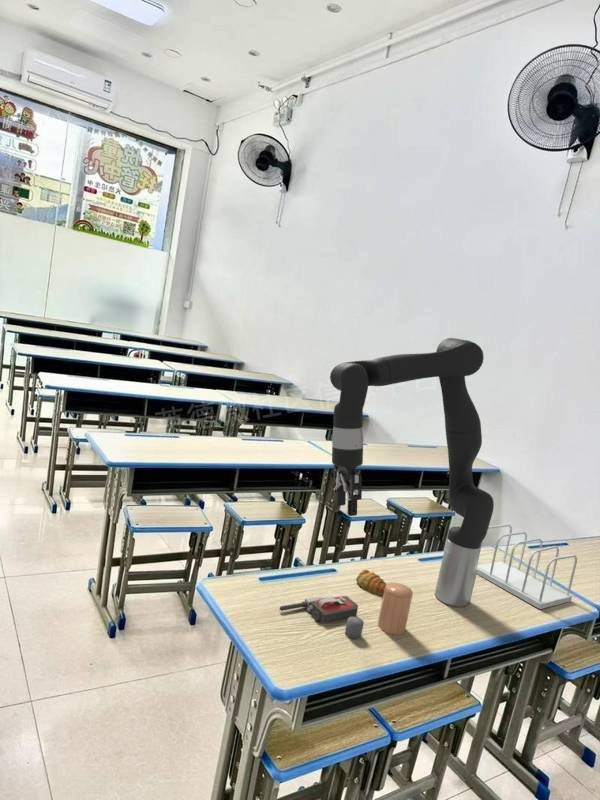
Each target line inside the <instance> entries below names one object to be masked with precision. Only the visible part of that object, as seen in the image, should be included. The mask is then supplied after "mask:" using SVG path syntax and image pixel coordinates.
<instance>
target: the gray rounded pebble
mask: <svg viewBox="0 0 600 800" xmlns="http://www.w3.org/2000/svg"><path fill="white" fill-rule="evenodd" d="M346 621H347V622H346V626H345V631H344V634H345V636H346V637H347V638H349V639H351V640H359V639H362V633H363V629H364V624H365V623H364V621H363V619H361V618H360V617H357V616H356V617H349V618H348V619H346Z"/></svg>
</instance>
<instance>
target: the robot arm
mask: <svg viewBox="0 0 600 800" xmlns="http://www.w3.org/2000/svg"><path fill="white" fill-rule="evenodd" d="M484 359H485V358H484V351H483V350H482V347H481V346H480V345H478V344H477V343H476V342H473V341H470V340H466V339H460V338H453V337H448V338H444V339H443V340H442V341H440V342H439V344H438V345H437V348H436V352H435V351H434V352H426V353H404V354H403V353H402V354H401V353H400V354H393V355H387V356H382V357H376V358H373V359H367V360H364V359H363V360H354V361H353V360H352V361H346V362H341V363H338V364H337V365H335V366H334V367H333V368H332V370H331V372H330V376H329V380H330V382H331V385H332V386H333V388H335V389H336V390H337V391H340V393H339V394H340V396H339V402H337V403H336V404H335V405H334V408H333V427H332V428H333V430H332V435H331V436H332V437H331V439H332V441H331V464H332V465H333V482H332V484H333V487H334V488H335V490H336V505H337V506H339V507H340V506H345V505H346V500H347V508H346V509H347V515H348V516H350V517H353V516H354V517H356V516H357V515H358V501H359V500H362V498H363V497H362V495H363V494H362V492H363V491H362V488H363V487H362V484H363V483H362V481H363V480H362V474H361V473H360V474H358V473H357V467H360V466H362V465H363V464H364V463H363V462H364V432H363V431H364V429H363V428H364V427H363V424H364V423H363V422H364V421H363V420H364V415H363V414H364V412H363V410H364V407H365V403H366V400H367V396H368V395H367V394H368V389H369V387H385V386H390V385H395V384H400V383H404V382H406V383H407V382H410V381H416V380H423V379H429V378H439V383H440V384H439V385H440V390H441V395H442V404H443V407H442V408H443V413H444V427H445V428H444V430H445V436H446V437H445V439H446V444H447V445H446V446H447V454H448V468H449V477H448V478H449V479H448V480H449V481H448V482H449V485H448V487H449V488H448V492H449V493H448V499H449V506H450V507H451V509H452V511H453V512H455V514H457V515H459V516H460V517H462V518H463V519H462V523H461V525H460V526H451V527H450V528H449V529H448V532H447V536H446V541H445V545H444V549H443V553H442V560H441V562H440V563H441V564H440V568H439V573H438V577H437V582H436V585H435V590H434V596H435V597H436V598H437V599H438V600H439V601H440V602H442V603H444V604H447V605H449V606H452V607H457V608H459V607H460V608H462V607H466V606H467V605H468V604H469V603H471V601H472V595H473V591H474V587H475V582H476V578H477V575H478V574H477V571H476V570H475V568H476V564H477V560H478V555H479V551H480V547H481V548H482V546H481V543H482V544H483V541H484V539H485V538H486V536H487V535H488V530H489V529H488V527H489V526H490V523H491V519H492V517H493V513H494V506H495V504H494V498H493V497H492V495H491V494H490V493H489V492H487V491H485V490H483V489H481V488H479V487H477V486H475V484H474V478H473V465H474V462H475V460H476V458H477V456H478V454H479V452H480V449H481V447H482V444H483V437H482V424H481V419H480V418H481V417H480V415H479V413H478V410H477V408H476V406H475V404H474V401H473V400H472V397H471V396H470V394H469V391H468V389H467V383H466V377H467V376H468V377H469V376H471V375H474V374H475V373H477V372H478V371H479V370H480V369H481V367H482V365H483V363H484ZM346 498H347V499H346ZM480 552H481V551H480ZM479 556H480V555H479ZM478 561H479V560H478ZM477 565H478V564H477Z"/></svg>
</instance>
